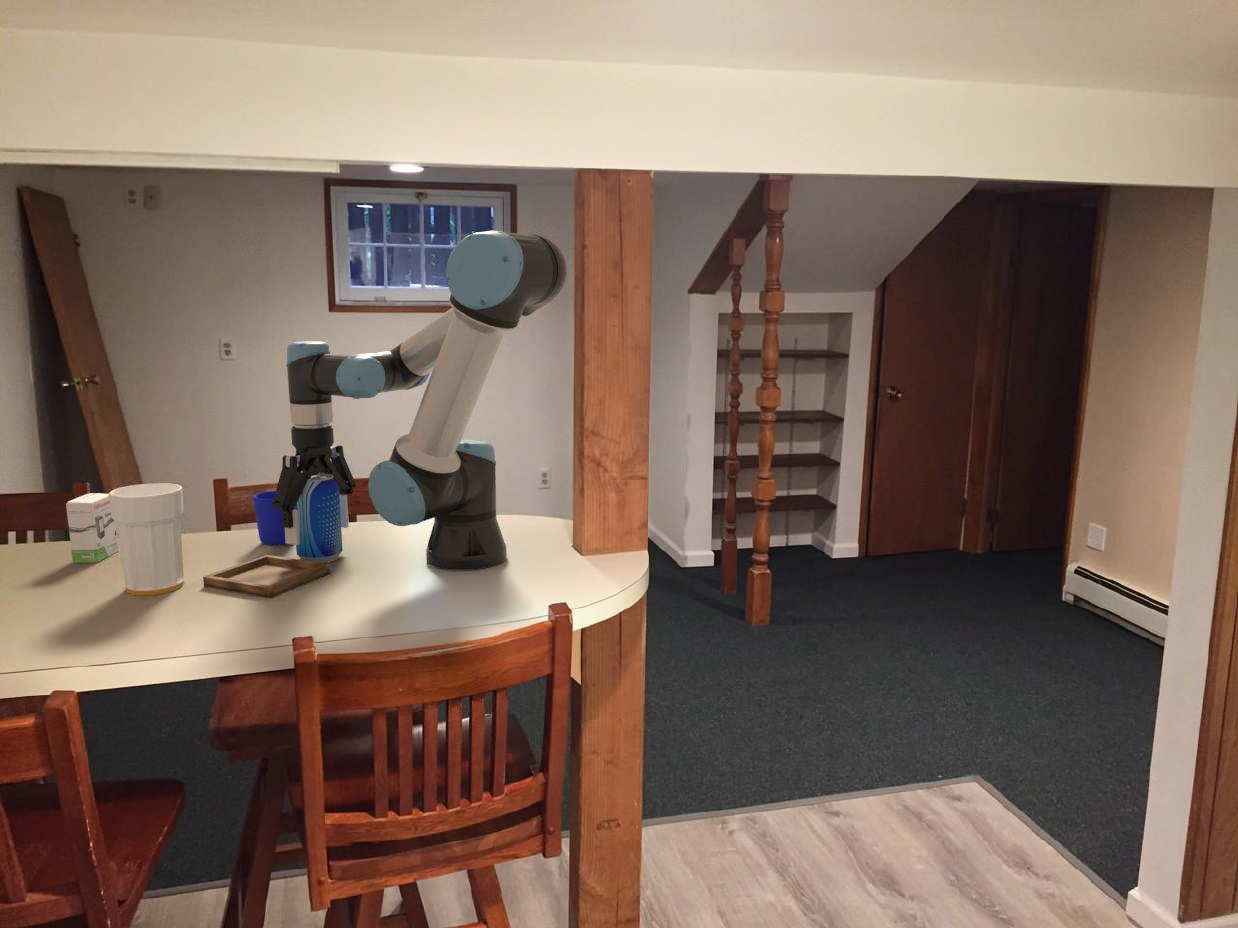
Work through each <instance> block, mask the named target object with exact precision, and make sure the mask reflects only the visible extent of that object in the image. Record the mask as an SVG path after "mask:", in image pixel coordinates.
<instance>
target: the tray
mask: <svg viewBox="0 0 1238 928" xmlns="http://www.w3.org/2000/svg"><path fill="white" fill-rule="evenodd" d="M328 575H331V564H329V563H318V562H311V561H305V560H301V559H299V558H291V557H285V556H276V555H271V554H264V555H262V556H260V557H257V558H253V559H251V560H248V561H245V562H242V563H238V564H236V565H233V566H231V567H228V568H225V569H222V570H220V571H216V572H213V573H210V574H207V575H204V576H203V577H202V579H203V587H204V588H209V589H210V588H211V589H215V590H220V591H226V592H232V593H236V594H237V593H238V594H243V595H249V596H254V597H260V598H265V599H272V598H275V597H277V596H280V595H283V594H284V593H287V592H289V591H292V590H295V589H296V588H300V587H301V586H304V585H307V584H309V583H311V582H315V581H317V580H319V579H322V578H324V577H326V576H328Z"/></svg>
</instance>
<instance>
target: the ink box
mask: <svg viewBox="0 0 1238 928" xmlns="http://www.w3.org/2000/svg"><path fill="white" fill-rule="evenodd" d="M65 506H66V516H67V524H68V533H69V541H70V548H71V551H70V552H71V558H72V563H73V564H77V563H78V564H79V563H80V564H82V563H85V564H87V563H91V564H92V563H96V564H97V563H100V562H101V561H103V560H105V559H107V558H109V557H110V556H112V555H114V554H116V553H118V552H120V545H119V537H118V530H117V523H116V522H115V521H114V520H113V519H112V514H111V507H110V500H109V493H100V492H98V493H95V492H92V493H91V492H89V493H86V494H83V495H80V496H79V497H76V498H74V499H71V500H69V501H67V503H65Z"/></svg>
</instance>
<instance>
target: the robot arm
mask: <svg viewBox="0 0 1238 928" xmlns="http://www.w3.org/2000/svg"><path fill="white" fill-rule="evenodd" d="M445 274H446V276H445V277H446V279H448V281H449V282H448V283H447V286H448V289H449V292H450V297H449V299H448V303H449V304H450V306H451V308H450V309H448V310H447V311H445V312H443V313H442V314H441V315H440V316H438V317H437V318H435V319H433V320H432V321H431V322H430V323H428V324H426V325H425V326H424V327H422V328H421V329H419V330H418V331H417V332H415V333H414V334H412V335H411V336H409V337H408V338H406V339H405V340H404V341H403V342H401V343H399V344H398V345H397V346H395V347H393V348H391V349H390V350H388V351H387V350H386V351H385V350H384V351H377V352H367V353H366V352H365V353H357V354H333V353H331V351H330V347H329V344H328V343H327V342H326V341H320V340H318V341H317V340H313V341H312V340H311V341H310V340H307V341H301V340H300V341H294V342H290V343H289V344H288V346H287V347H286V365H285V367H286V368H287V383H288V384H287V385H288V395H289V396H288V397H289V398H288V399H289V410H290V411H289V413H290V423H291V424H292V425H293V426H292V427H291V429H290V430H291V431H290V433H291V436H290V437H291V445H292V446H293V447H294V448H295V454H294V455H287V454H285V455H283V456H282V463H281V464H282V468H281V472H280V474H279V478H278V482H277V485H276V490H275V491H276V492H275V496H274V499H273V503H272V507H273V508H276V509H280V510H281V511H282V523H283V527H285V541H286V543H287V544H286V545H294V546H296V545H299V544H300V538H299V521H298V510H295V509H294V508H295V506H296V504H297V501H298V499H299V497H300V495H301V493H302V491H303V489H304V487H305V484H306V482H307V480H309V479H310V478H311V476H314V475H317V474H318V473H326V474H331V475H333V479H334V480H335V482H336V483H337V485H338V486H339V496H340V514H341V528H345V529H346V528H347V529H348V528H349V526H350V525H349V507H350V503H349V502H350V501H349V500H350V499H349V495H353V493H354V489H356V488H357V487H356V486H357V484H356V481H355V479H354V477H353V474H352V472H351V470H350V467H349V464H348V463H347V459H346V458H345V454H344V447H343V445H340V444H338V445H337V444H334V443H335V442H334V441H335V438H334V437H335V436H334V426H333V425H331V424H332V423H333V422H334V416H333V415H334V413H333V412H334V411H333V402H332V400H333V399H332V398H333V397H332V396H336V397H343V398H345V397H346V398H352V399H356V400H359V399H372V398H375V397H376V396H377V395H378V394H381V393H387V392H395V391H406V390H412V389H414V388H418V387H421V386H423V385H424V384H425V383H426V382H427V380H428V382H427V384H426V388H425V390H424V393H423V396H422V399H421V401H420V404H419V407H418V409H417V411H416V414H415V416H414V419H413V422H412V425H411V427H410V430H409V433H407V434H403V435H401V436H399V437H398V438H397V440H396V442H395V444H394V446H393V449H392V452H391V455H390V457H389V459H388V460H383V461H381V462H379V463H378V464H376V465H375V466H374V467H373V468H372V469H371V471H370V474H369V476H368V483H367V485H368V486H367V487H368V495H369V498H370V500H371V502H372V505H373V507H374V509H375V510H376V512H377V513H378V515H379V516H380V517H381V518H382V519H383V520H384V521H386V522H387V523H389V524H391V525H393V526H398V527H406V526H411V525H413V526H414V525H418V524H421V523H422V522H425V521H429V520H431V519H434V522H433V525H432V528H431V532H430V535H429V539H428V542H427V546H426V549H425V552H426V556H425V557H426V563H427V564H428V565H429V566H431V567H433V568H436V569H440V570H442V569H443V570H448V571H472V570H474V571H475V570H481V569H486V568H492V567H495V566H498V565H500V564H502V563H503V562H505V561H506V560H507V556H508V555H507V545H506V542H505V539H504V536H503V533H502V531H501V527H500V525H499V522H498V519H497V486H496V485H497V483H496V482H497V481H496V465H497V461H496V456H495V455H496V453H495V447H494V446H493V445H492V444H491V442H487V441H482V440H474V439H473V440H472V439H463V436H464V433H465V432H466V429H467V426H468V425H469V421H470V418H471V416H472V413H473V411H474V409H475V406H476V404H477V401H478V399H479V397H480V393H481V392H482V390H483V386H484V384H485V381H486V379H487V376H488V374H489V371H490V369H491V366H492V364H493V362H494V359H495V357H496V354H497V352H498V349H499V346H500V344H501V341H502V340H503V337H504V335H505V333H507V332H510V331H513V330H515V329H516V328H517V327H518V325H519V322H520V320H521V318H526V317H529V316H530V315H532V314H533V313H535V312H536V311H538V310H539V309H541V308H543V307H544V306H546V305H548V304H549V303H551V302H552V301H553V300H554V299H556V298H557V297H558V296H559V295H560V293H561V292H562V290H563V289H564V287H565V284H566V282H567V281H566V280H567V275H568V267H567V262H566V258H565V255H564V254H563V251H562V250H561V249H560V248H559V246H558V245H557V244H556V243H555V242H554V241H552V240H551V239H550V238H548V237H546V236H543V235H540V234H537V233H519V232H504V231H502V230H501V231H500V230H486V231H479V232H474V233H471V234H469V235H467V236H465V237H464V238H463V239H461V240H460V241H459V242H458V243H457V244H456V245H454V248H453V250H452V251H451V253H450V255H449V258H448V260H447V263H446V270H445ZM429 376H430V377H429ZM280 501H281V502H280ZM289 502H290V503H289ZM288 503H289V504H288Z"/></svg>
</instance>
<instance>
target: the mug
mask: <svg viewBox="0 0 1238 928" xmlns="http://www.w3.org/2000/svg"><path fill="white" fill-rule="evenodd" d="M275 492H276V490H271V491H270V490H269V491H268V490H267V491H262V492H258V493H256V494H254V495H253V496H252V499H253V505H254V506H253V507H254V512H255V513H254V514H255V519H256V527H257V531H258V537H259V540H260V542H261V544H263V545H265V546H271V547H279V546H285V545H288V544H287V543H286V541H285V527H283V523H282V511H281V510H280V509H276V508H273V507H272V503H273V499H274V496H275ZM280 502H281V501H280ZM289 503H290V502H289ZM289 503H288V504H289Z"/></svg>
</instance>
